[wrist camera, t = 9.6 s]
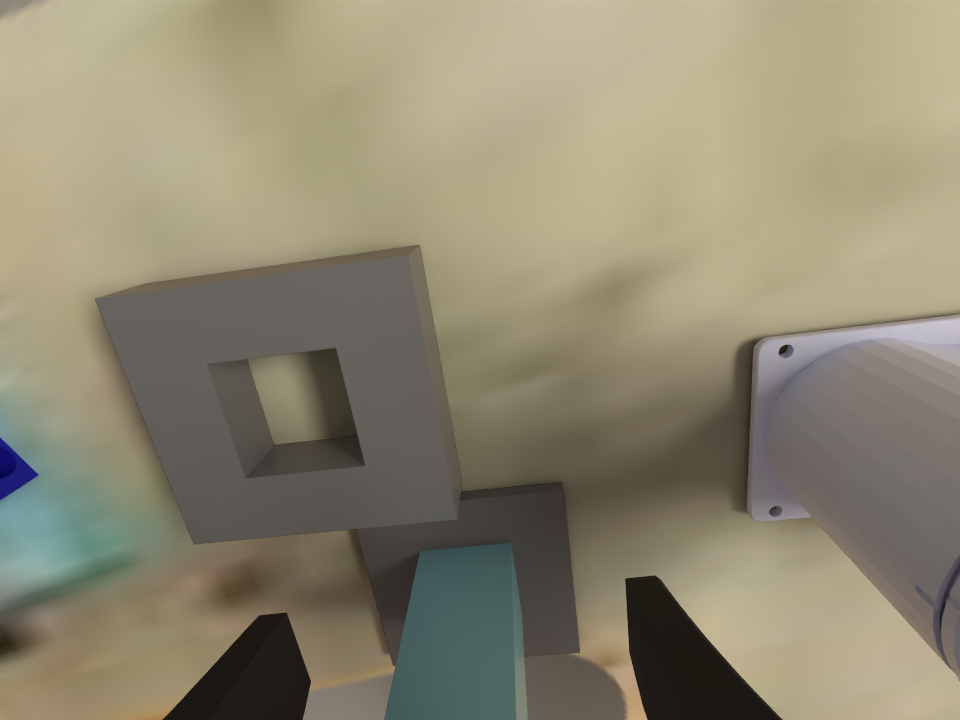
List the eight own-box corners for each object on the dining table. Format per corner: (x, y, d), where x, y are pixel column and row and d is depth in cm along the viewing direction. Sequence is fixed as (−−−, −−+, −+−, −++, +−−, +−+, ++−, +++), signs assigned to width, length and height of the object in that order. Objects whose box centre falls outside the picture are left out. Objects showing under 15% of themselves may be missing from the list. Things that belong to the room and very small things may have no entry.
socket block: (419, 245, 18) (408, 255, 16) (462, 482, 22) (457, 519, 19) (144, 284, 19) (94, 298, 17) (225, 505, 22) (193, 544, 20)
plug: (510, 542, 22) (516, 734, 14) (521, 613, 23) (532, 823, 16) (420, 551, 22) (379, 743, 15) (435, 620, 24) (406, 829, 16)
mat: (562, 482, 21) (563, 490, 21) (578, 641, 24) (580, 652, 24) (355, 502, 22) (351, 511, 22) (395, 655, 25) (393, 665, 25)
